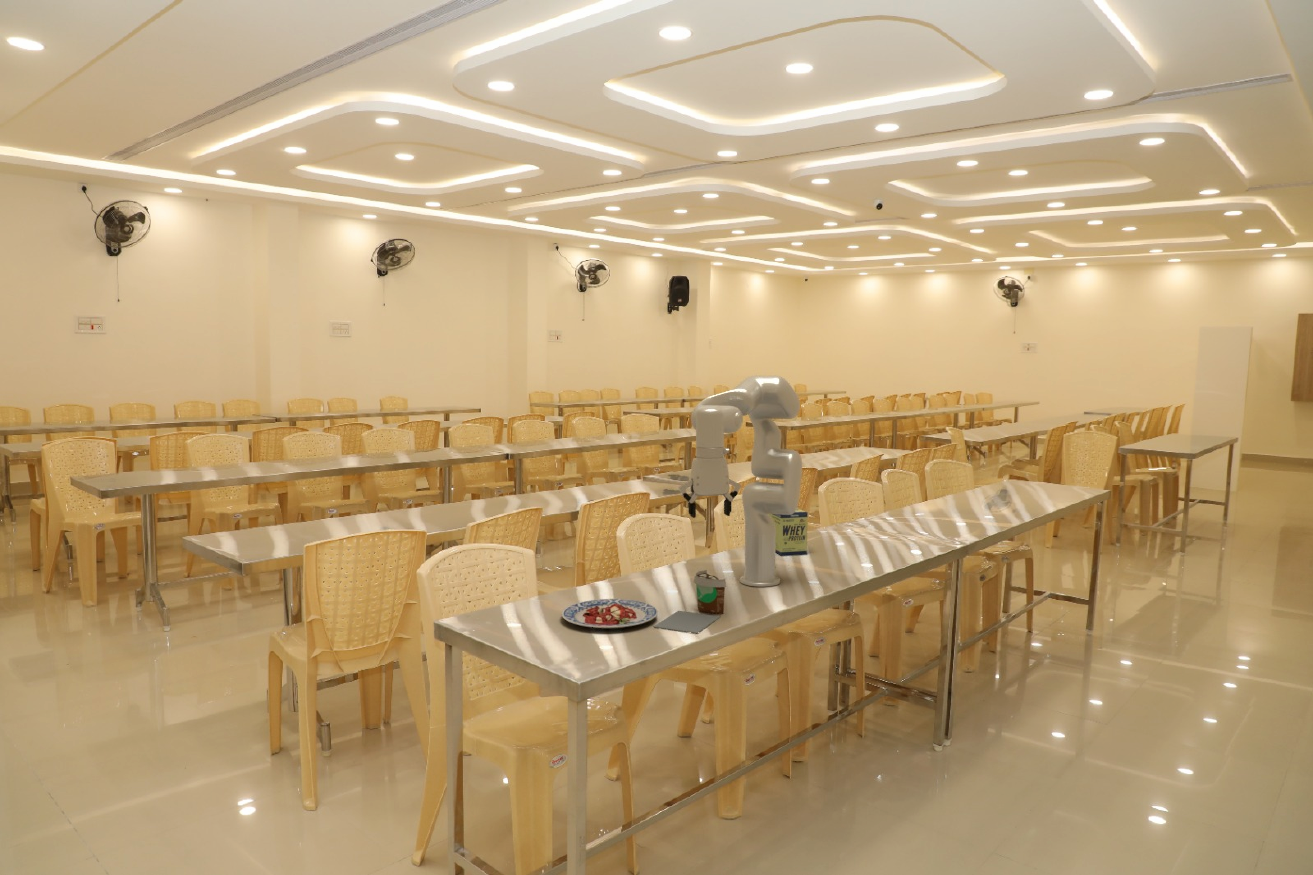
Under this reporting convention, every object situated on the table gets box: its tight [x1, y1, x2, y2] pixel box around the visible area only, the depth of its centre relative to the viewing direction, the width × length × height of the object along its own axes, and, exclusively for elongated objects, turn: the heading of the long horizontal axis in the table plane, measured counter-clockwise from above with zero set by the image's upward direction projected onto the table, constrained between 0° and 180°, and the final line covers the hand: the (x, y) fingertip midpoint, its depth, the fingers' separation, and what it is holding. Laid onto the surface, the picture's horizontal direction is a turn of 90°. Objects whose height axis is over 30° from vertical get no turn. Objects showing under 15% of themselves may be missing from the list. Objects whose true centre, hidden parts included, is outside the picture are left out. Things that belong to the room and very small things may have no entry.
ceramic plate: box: [561, 598, 659, 630], centre depth 230 cm, size 26×26×3 cm
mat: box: [653, 610, 721, 634], centre depth 227 cm, size 16×12×1 cm
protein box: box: [769, 507, 808, 557], centre depth 312 cm, size 10×16×16 cm
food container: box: [693, 569, 727, 615], centre depth 237 cm, size 12×6×10 cm, turn 23°
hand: (710, 516), depth 232 cm, fingers open, 9 cm apart
